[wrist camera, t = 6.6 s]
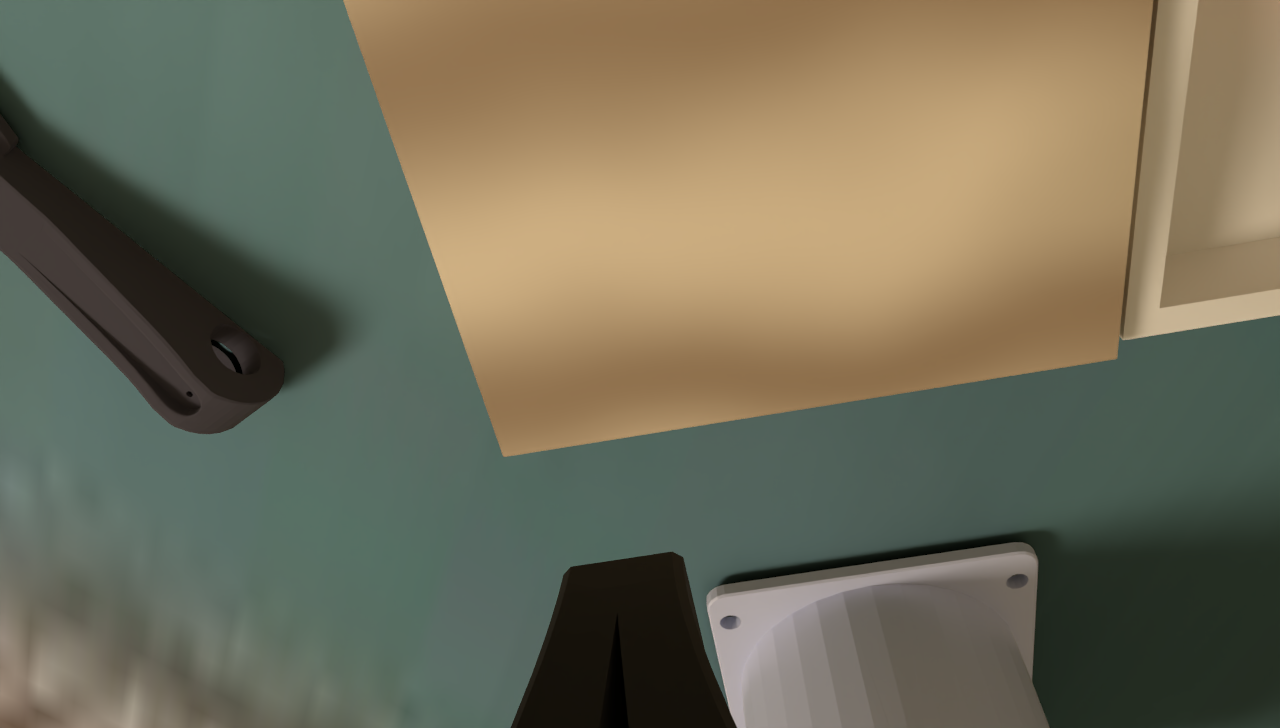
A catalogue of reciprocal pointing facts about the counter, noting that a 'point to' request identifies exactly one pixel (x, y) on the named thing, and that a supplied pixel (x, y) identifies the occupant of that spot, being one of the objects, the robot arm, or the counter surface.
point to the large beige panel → (761, 196)
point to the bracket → (130, 303)
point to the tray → (1206, 170)
